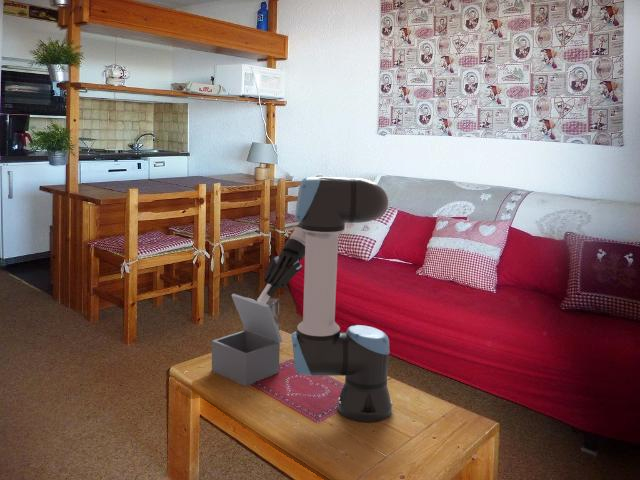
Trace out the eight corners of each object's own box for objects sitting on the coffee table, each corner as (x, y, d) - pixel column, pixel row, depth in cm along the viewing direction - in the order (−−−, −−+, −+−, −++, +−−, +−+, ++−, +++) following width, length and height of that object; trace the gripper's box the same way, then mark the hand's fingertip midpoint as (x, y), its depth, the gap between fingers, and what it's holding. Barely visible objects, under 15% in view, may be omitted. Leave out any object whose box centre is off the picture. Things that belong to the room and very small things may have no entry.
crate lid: (280, 343, 192) (282, 340, 192) (267, 307, 184) (269, 304, 185) (245, 329, 202) (247, 327, 203) (231, 295, 195) (233, 293, 196)
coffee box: (262, 339, 222) (263, 296, 219) (279, 341, 221) (280, 298, 217) (254, 348, 213) (255, 304, 210) (272, 350, 212) (273, 306, 209)
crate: (278, 373, 194) (279, 343, 192) (245, 386, 183) (246, 354, 181) (245, 358, 204) (245, 330, 202) (211, 370, 194) (211, 340, 192)
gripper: (318, 254, 201) (280, 314, 193) (289, 247, 210) (252, 304, 201) (307, 240, 196) (268, 301, 188) (279, 234, 205) (240, 292, 196)
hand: (260, 302), depth 194 cm, fingers closed
